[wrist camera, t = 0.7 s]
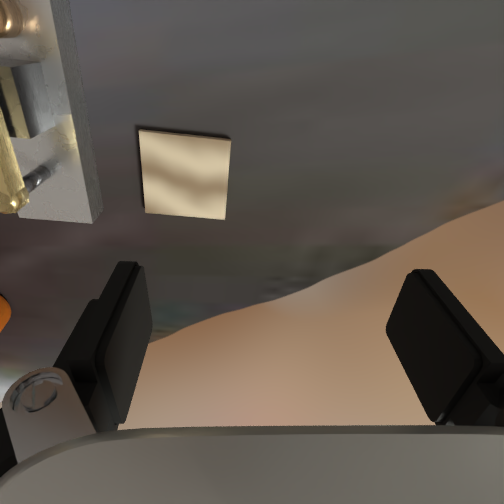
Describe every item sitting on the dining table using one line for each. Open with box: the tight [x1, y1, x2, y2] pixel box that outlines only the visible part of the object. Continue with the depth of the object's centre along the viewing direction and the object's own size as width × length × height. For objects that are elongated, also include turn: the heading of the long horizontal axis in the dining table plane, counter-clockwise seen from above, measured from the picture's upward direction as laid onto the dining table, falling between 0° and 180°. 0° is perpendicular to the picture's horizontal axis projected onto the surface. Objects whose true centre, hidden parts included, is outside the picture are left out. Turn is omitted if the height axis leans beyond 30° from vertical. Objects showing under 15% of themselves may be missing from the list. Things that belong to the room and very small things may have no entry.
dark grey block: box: [0, 57, 55, 139], centre depth 31 cm, size 6×5×5 cm
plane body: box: [0, 0, 103, 224], centre depth 34 cm, size 24×9×9 cm, turn 173°
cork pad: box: [139, 129, 231, 220], centre depth 42 cm, size 11×11×1 cm
